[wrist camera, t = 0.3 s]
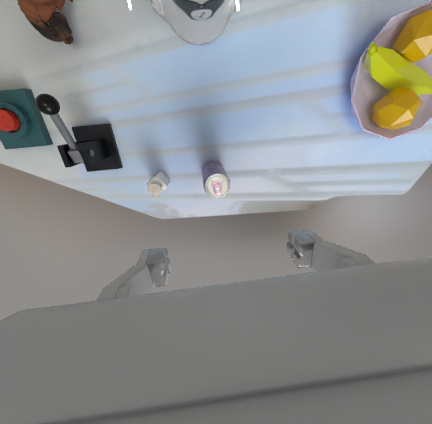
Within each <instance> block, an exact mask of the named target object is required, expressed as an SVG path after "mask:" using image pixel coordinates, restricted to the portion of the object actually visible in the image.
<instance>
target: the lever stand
mask: <svg viewBox="0 0 432 424" xmlns="http://www.w3.org/2000/svg"><path fill="white" fill-rule="evenodd" d="M72 130H73V133H74V136H75V139H76V141H77V142H75V143H76V144H77V146H78V147H79V150H80V153H81V156H82V159H83V161H84V164H85V167H86V170H87V172H89V171H98V170H108V169H118V168H122V163H121V159H120V156H119V152H118V149H117V145H116V141H115V138H114V134H113V131H112V127H111V124H101V125H90V126H79V127H72ZM57 147H58V149H59V152H60V154H61V157H62V159H63V162H64V164H65V167H72V166H74V165H77V164H80V163H74V162H73V160H72V158H71V157H70V155H69V154H68V150H69V149H70V147H69V145H68V144H64V145H59V146H57Z"/></svg>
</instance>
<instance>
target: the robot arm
mask: <svg viewBox="0 0 432 424" xmlns="http://www.w3.org/2000/svg"><path fill="white" fill-rule="evenodd" d="M241 1H242V0H152V7H153V9H154V10H155V12H156V13H158V14H159V15H160V16H162V17H163V18H165V19H166V20H167V22H168V23H169V24H170V26H171V27H172V29H173V30H174V31H175V33H176V34H177V35H178V36H180V37H181V38H182V39H184V40H185V41H187V42H189V43H193V44H206V43H209V42H211V41H213V40H214V39H216V38H217V37H218V36H219V35H220V34H221V33H222V31H223V30H224V28H225V26H226V24H227V22H228V20H229V18H230V16H231V14H232V13H233V12H234V11H235V10H236V9H237V11H239V9H240V8H239V6H240V4H241ZM128 6H129V8H130V9H132V8H131V2H130V0H128ZM287 238H288V239H289V242H288V243H287V251H288V254H289V256H290V257H291V258H293V262H294V263H295V265H296V266H297V268H303V267H311V268H313V269H314V270H316V272H309V273H302V274H294V275H286V276H279V277H271V278H263V279H256V280H249V281H241V282H233V283H226V284H218V285H211V286H203V287H196V288H188V289H180V290H173V291H165V292H158V293H150V292H151V291H152V290H153V289H154V287H160V286H166V285H168V281H169V275H168V274H169V273H170V259H169V258H168V257H167V256H168V251H167V248H156V249H147V250H143V251H142V252H141V255H140V257H139V260H138V262H137V264H136V266H133V267H132V268H130V269H129V270H127V271H126V272H125V273H123V274H122V275H121V276H119V277H118V278H117V279H115V280H114V281H113V282H111V283H110V284H109V285H107V286H106V287H105V288H103V290H102V291H101V293H100V295H99V297H98V299H97V300H96V301H90V302H82V303H75V304H68V305H60V306H52V307H46V308H36V309H27V310H23V311H19V312H17V313H14V314H12V315H10V316H9V317H6V318H5V319H3V320H1V321H0V424H432V256H430V257H422V258H415V259H407V260H400V261H392V262H384V263H377V264H376V263H374V262H373V261H372V260H371V259H370V258H368V257H367V256H366V255H364V254H362V253H359V252H356V251H353V250H350V249H347V248H345V247H341V246H339V245H336V244H333V243H330V242H327V241H325V242H324V241H323V240H322V239H321V238H320V237H319V236H318V235H317V234H316V233H315V232H314V231H313V230H311V229H307V230H302V231H295V232H289V233H288V237H287Z"/></svg>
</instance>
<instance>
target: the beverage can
mask: <svg viewBox="0 0 432 424" xmlns="http://www.w3.org/2000/svg"><path fill="white" fill-rule="evenodd" d="M202 173H203V184H204V189H205V191H206V193H207V194H208V195H209V196H211V197H213V198H221V197H223V196H225V195H226V194H227V193H228V191H229V189H230V180H229V178H228V176H227V174H226V172H225V170H224V168H223V167H222V165H221V164H220V163H219V162H217V161H209V162H207V163H206V164H205V165H204V166H203V170H202Z"/></svg>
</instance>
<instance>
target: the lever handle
mask: <svg viewBox="0 0 432 424" xmlns="http://www.w3.org/2000/svg"><path fill="white" fill-rule="evenodd" d="M35 102H36V106H37V107H38V109H39V110H40V111H41V112H43V113H44V114H47V115H50V117H51V118H52V120H53V121H54V123H55V125H56V126H57V128H58V129H59V131H60V133H61V134H62V136H63V137H64V139H65V141H66V142H67V144H68V145H69V147H70V149H69V150H68V154H69V155H70V157H71V158H72V160H73V162H74V163H84V161H83V159H82V156H81V153H80V150H79V147H78V146H77V144H76V143H75V141H74V139H73V138H72V136H71V134H70V133H69V131H68V129H67V127H66V126H65V124H64V122H63V121H62V119H61V117H60V116H59V114H58V112H59V111H60V104H59V102H58V101H57V100H56V99H55V98H54V97H53V96H51V95H49V94H40V95H38V96H37V97H36V100H35Z"/></svg>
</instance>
